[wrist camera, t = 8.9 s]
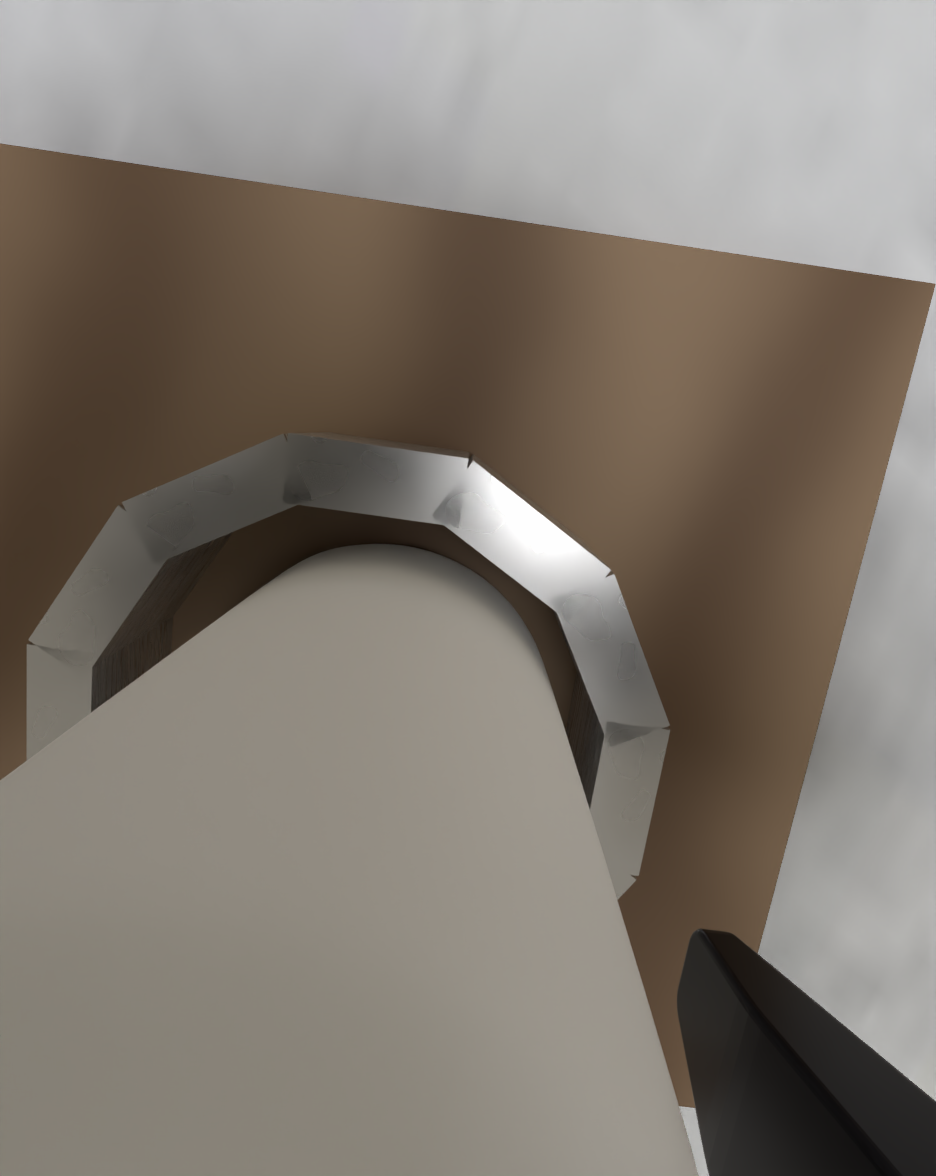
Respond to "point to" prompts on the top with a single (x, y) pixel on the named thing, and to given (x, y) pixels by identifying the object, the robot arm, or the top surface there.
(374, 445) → the ring collar
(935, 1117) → the robot arm
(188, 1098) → the can
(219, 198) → the base plate
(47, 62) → the top surface
